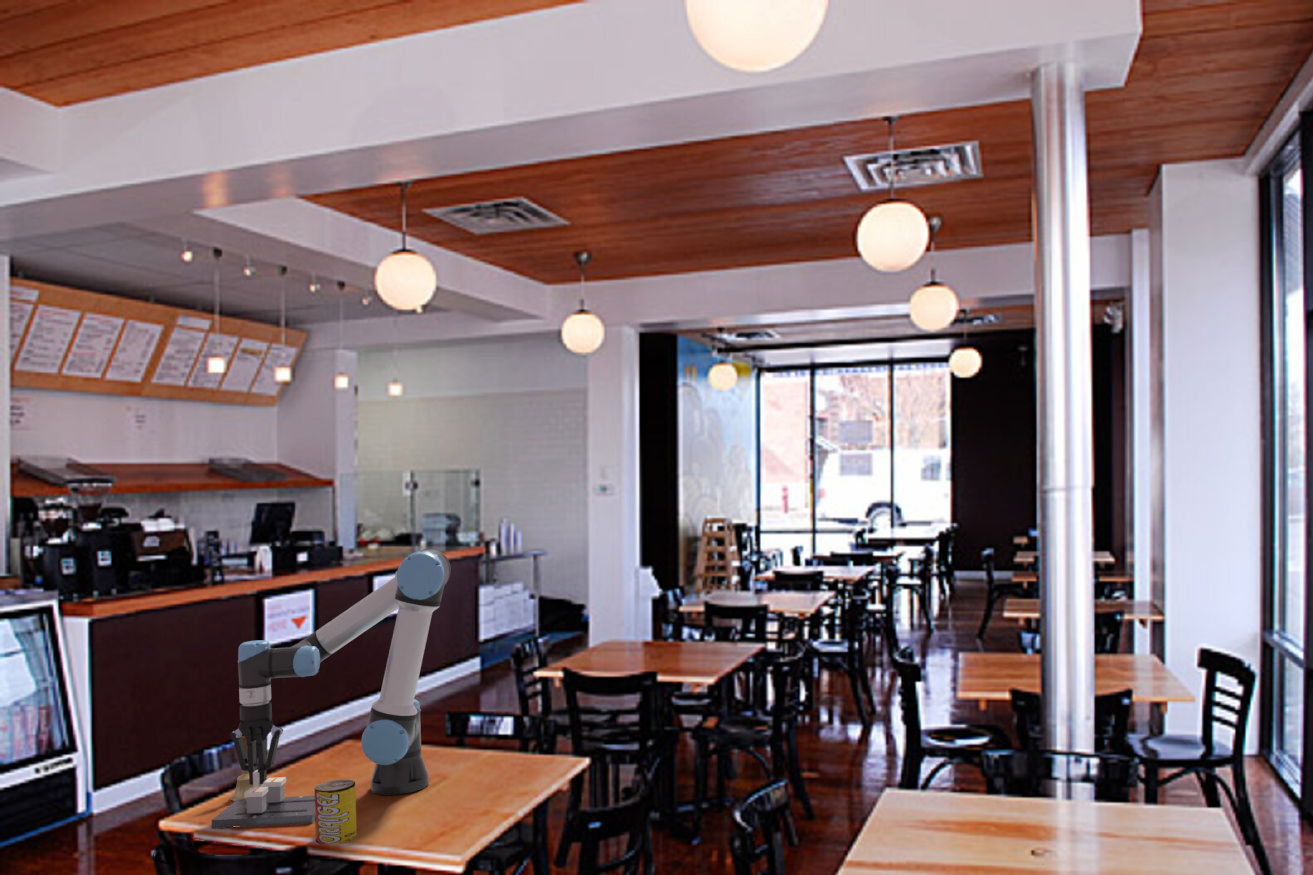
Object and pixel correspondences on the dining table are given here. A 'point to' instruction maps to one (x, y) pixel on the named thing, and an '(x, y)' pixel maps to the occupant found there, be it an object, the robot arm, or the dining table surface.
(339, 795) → the beverage can
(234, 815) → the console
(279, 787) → the block
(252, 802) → the fader near
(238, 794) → the hand bell
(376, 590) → the robot arm
